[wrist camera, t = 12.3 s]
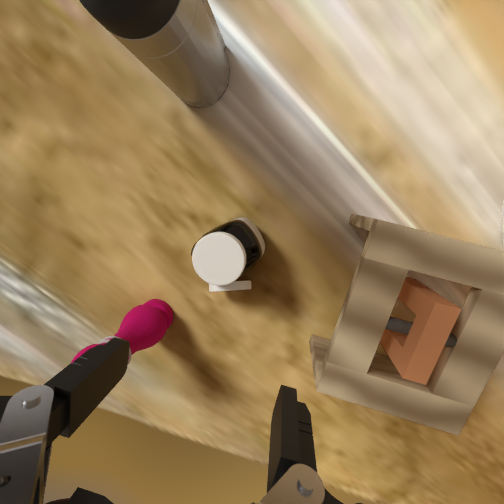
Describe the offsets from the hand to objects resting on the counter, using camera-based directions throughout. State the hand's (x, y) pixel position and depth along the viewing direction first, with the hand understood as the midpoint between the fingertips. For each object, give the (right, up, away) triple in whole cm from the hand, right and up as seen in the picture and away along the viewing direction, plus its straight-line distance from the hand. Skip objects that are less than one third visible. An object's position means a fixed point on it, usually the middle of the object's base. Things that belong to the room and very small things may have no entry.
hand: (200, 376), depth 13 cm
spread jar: (0, +6, +31) cm, 32 cm away
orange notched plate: (+24, -2, +25) cm, 34 cm away
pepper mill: (-15, -5, +35) cm, 39 cm away
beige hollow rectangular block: (+24, -1, +29) cm, 38 cm away
